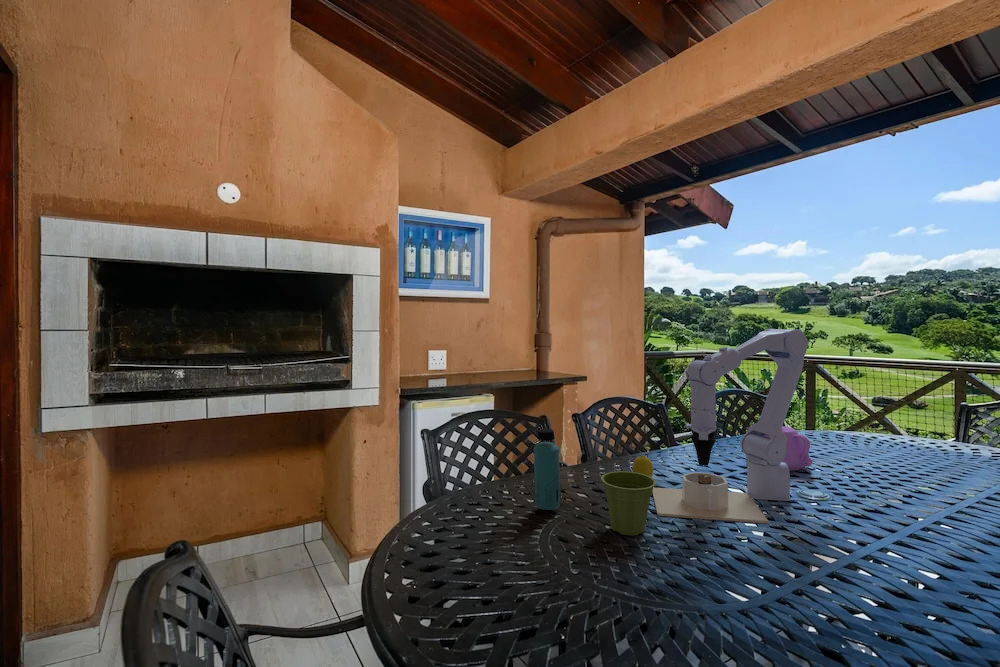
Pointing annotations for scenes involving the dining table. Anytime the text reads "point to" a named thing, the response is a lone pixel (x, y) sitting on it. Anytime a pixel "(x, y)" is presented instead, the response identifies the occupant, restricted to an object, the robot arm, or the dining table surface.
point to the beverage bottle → (546, 472)
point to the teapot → (796, 449)
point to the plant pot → (628, 500)
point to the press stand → (706, 501)
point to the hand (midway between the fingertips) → (703, 461)
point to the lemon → (643, 466)
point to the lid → (704, 479)
